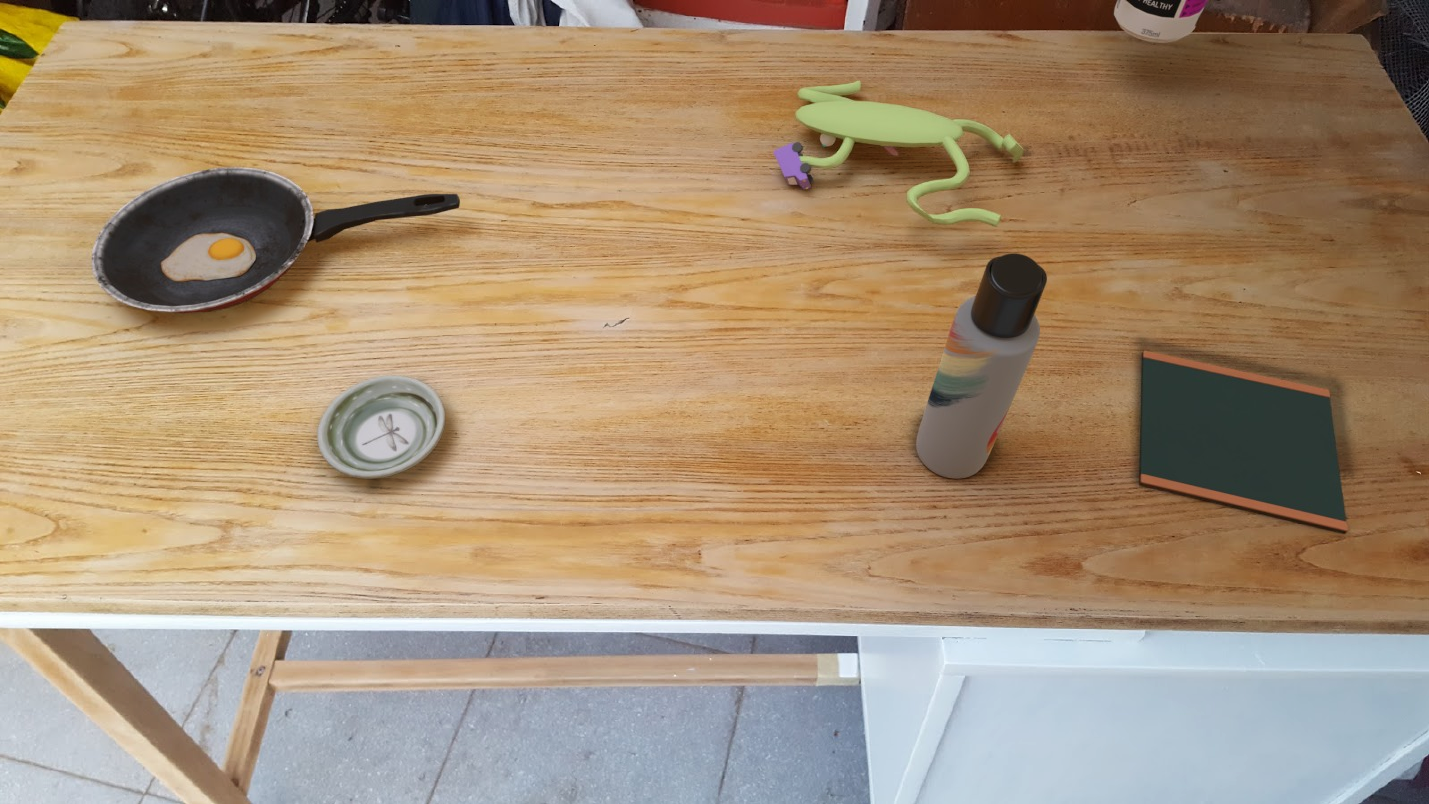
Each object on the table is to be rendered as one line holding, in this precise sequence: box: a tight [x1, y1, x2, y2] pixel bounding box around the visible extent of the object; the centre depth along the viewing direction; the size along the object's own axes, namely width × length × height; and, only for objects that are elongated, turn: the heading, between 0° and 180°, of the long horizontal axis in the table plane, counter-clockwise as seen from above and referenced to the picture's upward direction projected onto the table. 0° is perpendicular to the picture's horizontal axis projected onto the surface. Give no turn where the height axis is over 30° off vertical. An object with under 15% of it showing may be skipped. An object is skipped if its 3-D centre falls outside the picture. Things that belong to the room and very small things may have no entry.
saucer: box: [316, 375, 446, 480], centre depth 74 cm, size 10×10×2 cm
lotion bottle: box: [915, 252, 1048, 480], centre depth 67 cm, size 6×6×20 cm
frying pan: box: [90, 166, 461, 315], centre depth 87 cm, size 19×32×4 cm, turn 102°
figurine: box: [772, 79, 1024, 228], centre depth 94 cm, size 18×27×6 cm
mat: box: [1138, 350, 1349, 534], centre depth 76 cm, size 15×14×1 cm
